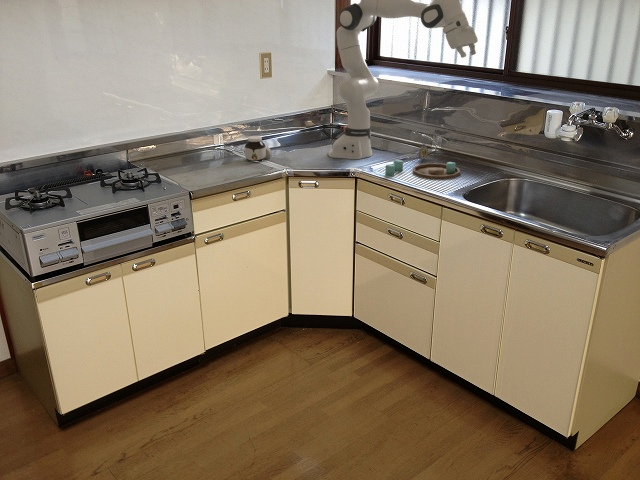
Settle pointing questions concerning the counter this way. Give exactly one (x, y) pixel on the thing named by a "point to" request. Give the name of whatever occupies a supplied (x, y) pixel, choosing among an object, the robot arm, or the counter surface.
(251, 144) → the spread jar
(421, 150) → the pocket watch
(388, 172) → the bead
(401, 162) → the bead
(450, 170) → the bead
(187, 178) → the counter surface
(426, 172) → the ring tray
